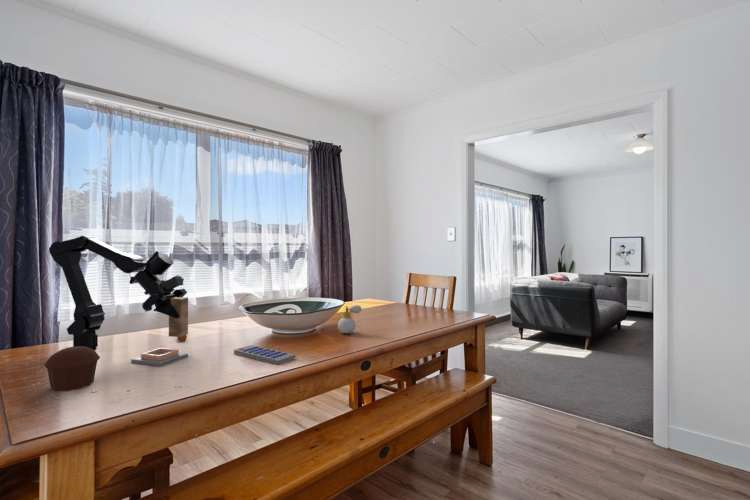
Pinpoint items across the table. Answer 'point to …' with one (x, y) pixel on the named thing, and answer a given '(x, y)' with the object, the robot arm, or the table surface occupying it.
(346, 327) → the perfume bottle
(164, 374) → the table surface
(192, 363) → the table surface
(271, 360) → the remote control
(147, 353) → the baseplate
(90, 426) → the table surface
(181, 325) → the walnut post
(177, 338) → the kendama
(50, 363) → the muffin
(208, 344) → the table surface
